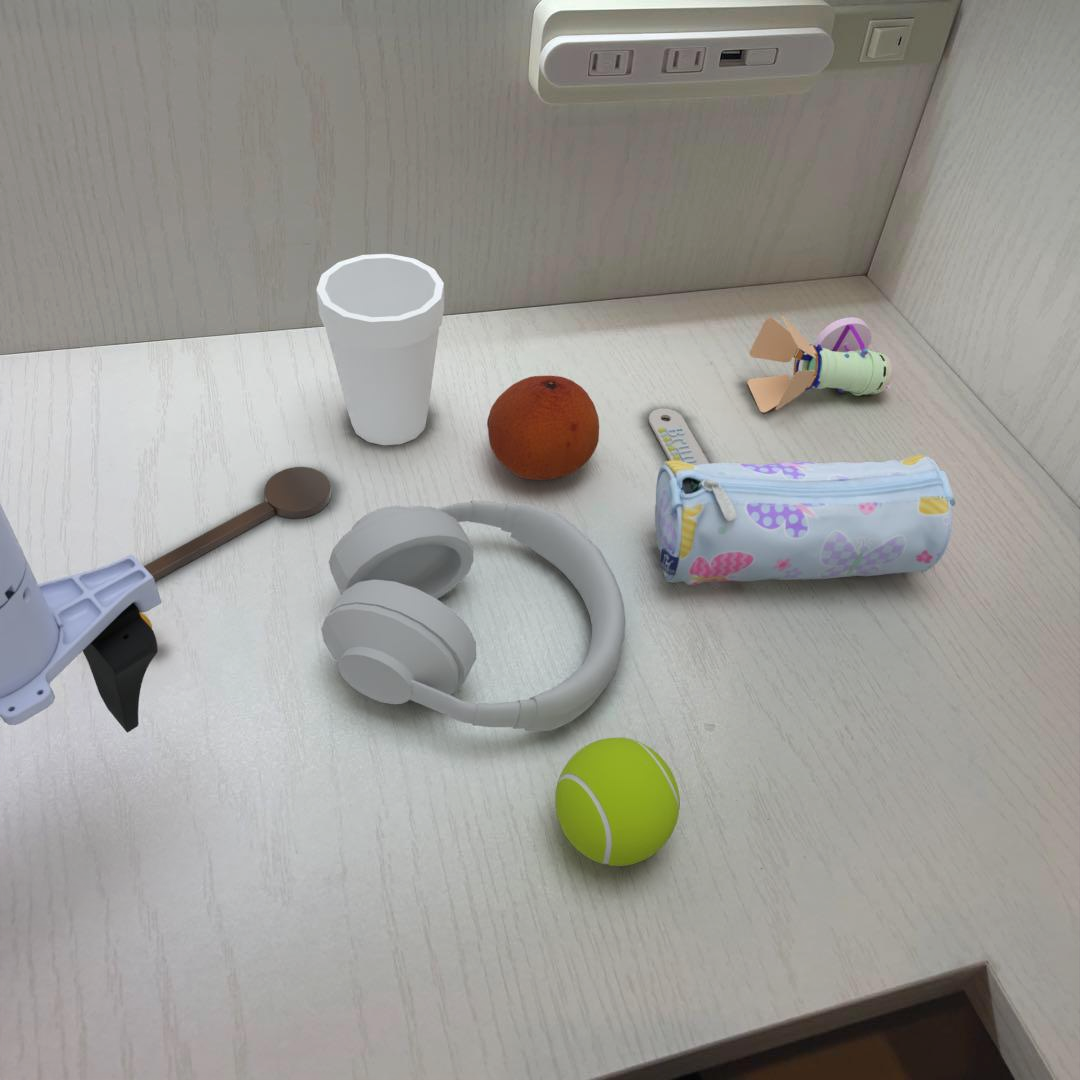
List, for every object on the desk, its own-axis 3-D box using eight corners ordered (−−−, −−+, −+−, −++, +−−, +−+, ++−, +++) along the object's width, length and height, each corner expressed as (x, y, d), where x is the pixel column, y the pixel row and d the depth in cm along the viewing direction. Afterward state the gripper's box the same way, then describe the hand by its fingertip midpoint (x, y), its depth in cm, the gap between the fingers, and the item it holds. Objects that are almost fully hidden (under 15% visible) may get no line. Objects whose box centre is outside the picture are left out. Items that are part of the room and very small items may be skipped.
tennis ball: (623, 759, 61) (638, 695, 56) (692, 849, 57) (715, 789, 52) (529, 810, 58) (536, 748, 53) (595, 909, 54) (609, 852, 49)
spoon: (109, 630, 65) (106, 622, 65) (73, 588, 68) (70, 581, 67) (344, 497, 76) (343, 490, 75) (306, 465, 78) (304, 457, 77)
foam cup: (309, 420, 82) (290, 284, 72) (390, 373, 87) (382, 241, 77) (388, 473, 78) (378, 337, 68) (467, 421, 83) (469, 288, 73)
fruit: (568, 418, 84) (577, 341, 78) (609, 486, 78) (621, 408, 73) (471, 437, 81) (472, 358, 76) (505, 508, 76) (510, 429, 70)
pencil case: (653, 605, 70) (675, 512, 63) (636, 520, 76) (654, 426, 69) (931, 600, 72) (981, 509, 65) (893, 517, 78) (935, 425, 71)
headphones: (309, 750, 59) (624, 765, 63) (314, 675, 54) (659, 696, 57) (333, 533, 72) (594, 556, 76) (339, 454, 66) (620, 484, 70)
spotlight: (766, 425, 85) (803, 358, 80) (737, 362, 90) (771, 296, 85) (882, 433, 89) (926, 369, 83) (848, 372, 94) (887, 308, 88)
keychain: (644, 407, 84) (676, 403, 85) (643, 413, 85) (675, 409, 86) (689, 489, 78) (723, 483, 78) (687, 494, 78) (722, 489, 79)
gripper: (-222, 755, 33) (-65, 919, 42) (168, 546, 40) (224, 727, 50) (-288, 633, 36) (-129, 812, 46) (84, 461, 43) (152, 646, 53)
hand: (51, 761), depth 48 cm, fingers open, 7 cm apart
